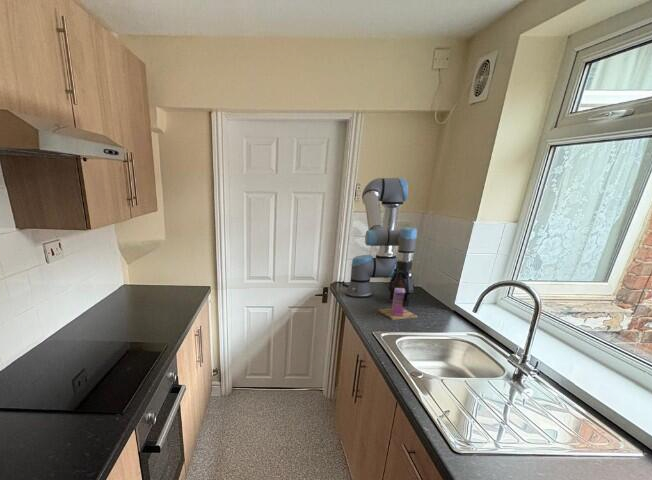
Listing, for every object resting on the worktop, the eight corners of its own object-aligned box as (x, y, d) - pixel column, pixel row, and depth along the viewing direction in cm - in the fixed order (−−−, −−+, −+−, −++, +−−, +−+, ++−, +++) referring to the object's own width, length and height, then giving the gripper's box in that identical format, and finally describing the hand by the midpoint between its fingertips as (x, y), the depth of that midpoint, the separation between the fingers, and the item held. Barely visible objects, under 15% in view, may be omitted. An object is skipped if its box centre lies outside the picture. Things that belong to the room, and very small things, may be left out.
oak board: (377, 311, 224) (378, 309, 224) (401, 309, 227) (401, 307, 226) (392, 319, 210) (392, 317, 210) (417, 317, 213) (417, 316, 212)
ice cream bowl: (382, 301, 241) (385, 275, 234) (397, 299, 245) (401, 274, 239) (395, 306, 232) (399, 279, 226) (410, 303, 237) (414, 277, 230)
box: (403, 315, 213) (406, 292, 208) (391, 315, 214) (394, 292, 209) (402, 310, 222) (406, 288, 216) (391, 309, 223) (394, 287, 218)
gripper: (425, 265, 196) (418, 308, 205) (399, 256, 218) (393, 296, 227) (411, 265, 195) (404, 309, 204) (385, 257, 217) (380, 297, 226)
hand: (398, 302), depth 216 cm, fingers open, 13 cm apart
